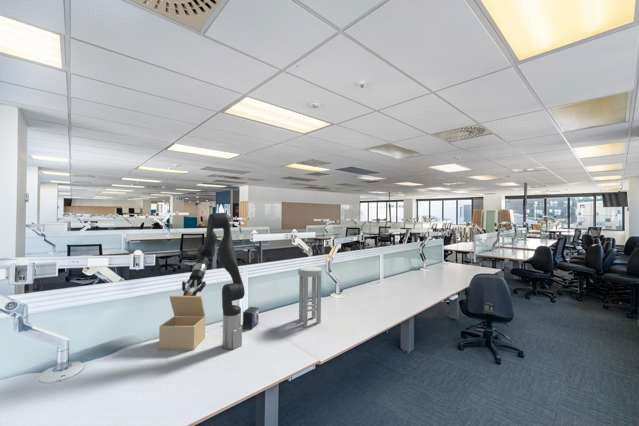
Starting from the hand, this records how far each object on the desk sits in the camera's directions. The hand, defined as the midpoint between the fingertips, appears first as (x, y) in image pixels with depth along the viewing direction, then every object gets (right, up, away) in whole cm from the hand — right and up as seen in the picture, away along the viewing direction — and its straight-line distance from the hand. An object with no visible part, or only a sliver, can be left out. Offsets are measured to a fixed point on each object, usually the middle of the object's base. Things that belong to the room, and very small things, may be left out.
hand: (188, 297), depth 156 cm
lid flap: (0, -5, -1) cm, 5 cm away
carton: (0, -23, -6) cm, 24 cm away
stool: (+67, -25, +29) cm, 77 cm away
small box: (+30, -24, +19) cm, 43 cm away
